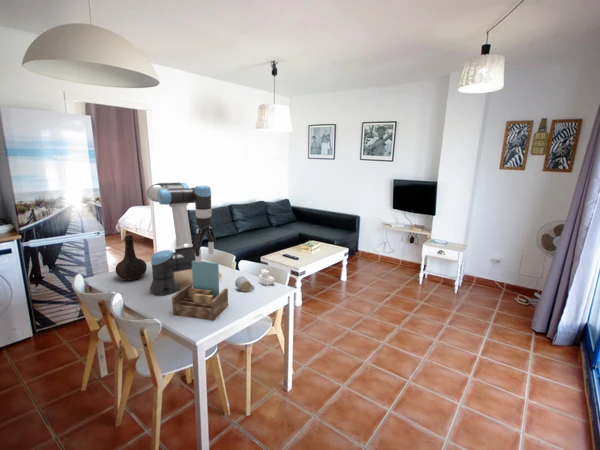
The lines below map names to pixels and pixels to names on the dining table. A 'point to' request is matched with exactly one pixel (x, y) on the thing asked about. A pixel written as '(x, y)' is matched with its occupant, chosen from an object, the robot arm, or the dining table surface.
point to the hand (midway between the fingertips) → (205, 257)
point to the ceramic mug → (243, 284)
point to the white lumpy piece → (266, 278)
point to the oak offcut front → (202, 298)
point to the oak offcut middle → (198, 292)
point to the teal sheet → (206, 276)
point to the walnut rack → (198, 305)
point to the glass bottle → (130, 263)
